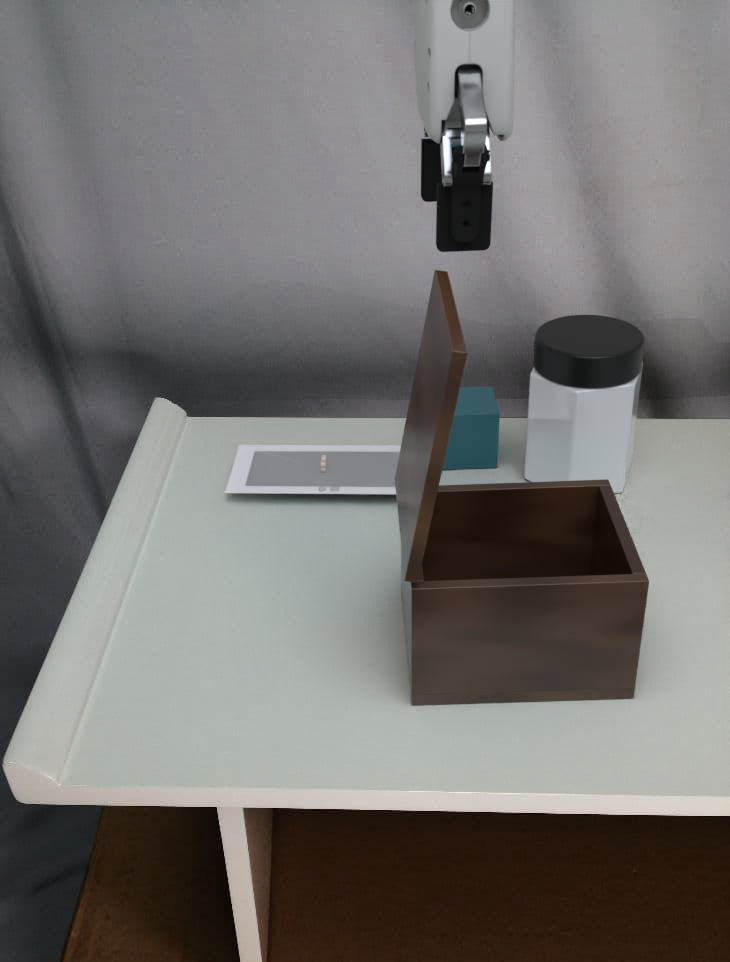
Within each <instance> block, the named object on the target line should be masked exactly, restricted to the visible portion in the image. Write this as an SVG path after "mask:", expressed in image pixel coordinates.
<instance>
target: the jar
mask: <svg viewBox="0 0 730 962" xmlns="http://www.w3.org/2000/svg"><path fill="white" fill-rule="evenodd" d="M534 334H535V335H534V341H533V368H532V370H531V371H530V374H529V386H528V404H527V421H526V437H525V439H526V440H525V456H524V472H523V477H524V479H525V480H527V481H528V482H548V481H576V480H604V479H608V480H609V482H610V485H611V487H612V490H613V492H614V494H620V493H622V492H624V490H625V486H626V483H627V479H628V476H629V472H630V469H631V466H632V462H633V461H632V460H633V451H634V443H635V434H636V426H637V419H638V417H637V416H638V409H639V400H640V393H641V383H642V374H643V366H644V362H643V361H644V352H645V351H644V350H645V342H646V341H645V340H646V337H645V335H644V333H643V331H642V330H641V329H640V328H639V327H638V326H636V325H634V324H632V323H631V322H628V321H626V320H623V319H620V318H616V317H612V316H606V315H599V314H571V315H565V316H560V317H556V318H553V319H551V320H548V321H546V322H544V323H543V324H541V325H540V326H539V327H538V328H537V330H536V331H535V333H534Z"/></svg>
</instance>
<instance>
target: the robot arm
mask: <svg viewBox="0 0 730 962" xmlns="http://www.w3.org/2000/svg"><path fill="white" fill-rule="evenodd" d="M515 1H516V0H413V43H414V44H413V45H414V46H413V48H414V50H413V51H414V74H415V75H414V76H415V91H416V104H417V109H418V112H419V116H420V120H421V122H422V124H423V125H422V126H423V136H424V137H423V138H421V139H420V140H421V141H420V197H421V200H422V201H423V202H426V203H432V202H433V203H434V202H436V212H435V216H436V218H435V245H436V249H437V251H439V252H440V253H452V252H453V253H456V252H479V251H481V252H482V251H487V250H488V249H489V248H490V247H491V243H492V242H491V241H492V240H491V239H492V220H493V219H492V218H493V217H492V216H493V196H494V195H493V194H494V182H493V168H492V153H491V135H490V134H491V133H492V134H493V136H496V137H497V140H498V141H500V142H506V141H507V140H508V139H509V138H511V136H512V134H513V132H514V92H515V89H514V88H515V84H514V83H515V38H516V37H515V34H516V33H515V32H516V31H515V29H516V28H515V27H516V22H515V20H516V19H515V18H516V17H515V16H516V14H515V13H516V11H515V10H516V7H515V6H516V3H515ZM490 131H491V133H490Z"/></svg>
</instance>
